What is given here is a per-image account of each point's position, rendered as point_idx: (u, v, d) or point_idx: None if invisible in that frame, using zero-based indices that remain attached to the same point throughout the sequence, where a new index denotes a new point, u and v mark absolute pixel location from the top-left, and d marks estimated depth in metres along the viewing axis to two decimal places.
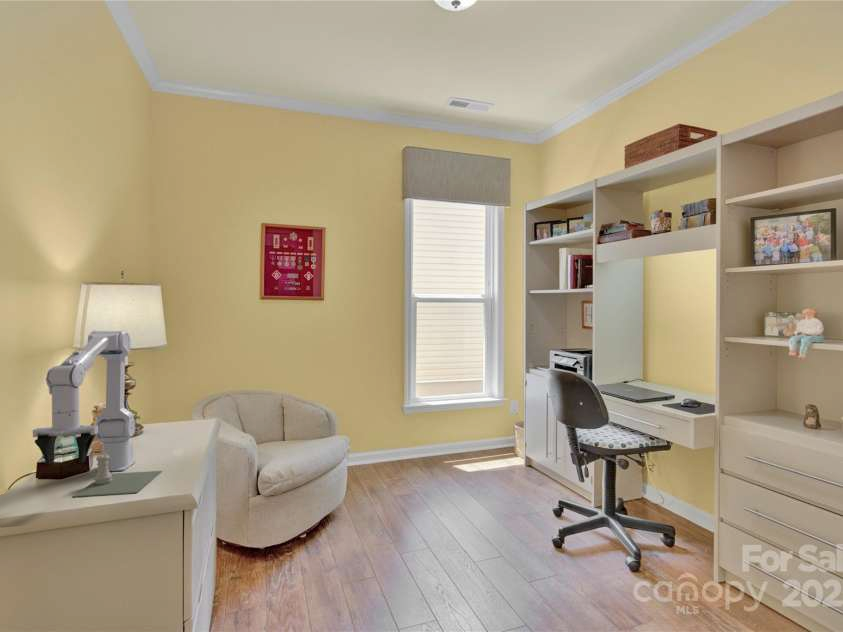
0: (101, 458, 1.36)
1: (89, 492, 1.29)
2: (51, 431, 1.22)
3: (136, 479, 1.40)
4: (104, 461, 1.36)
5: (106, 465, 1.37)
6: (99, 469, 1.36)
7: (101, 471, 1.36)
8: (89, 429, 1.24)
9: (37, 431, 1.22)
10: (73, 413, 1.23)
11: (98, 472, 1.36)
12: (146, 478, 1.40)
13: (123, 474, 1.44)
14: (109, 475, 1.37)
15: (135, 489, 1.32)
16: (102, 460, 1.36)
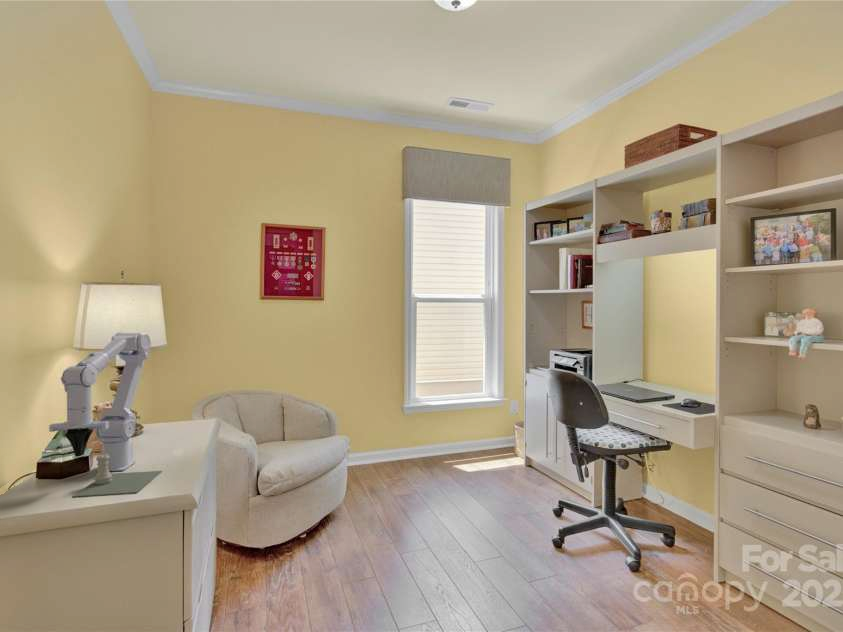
0: (101, 458, 1.36)
1: (89, 492, 1.29)
2: (66, 426, 1.33)
3: (136, 479, 1.40)
4: (104, 461, 1.36)
5: (106, 465, 1.37)
6: (99, 469, 1.36)
7: (101, 471, 1.36)
8: (100, 424, 1.36)
9: (53, 426, 1.34)
10: (86, 410, 1.35)
11: (98, 472, 1.36)
12: (146, 478, 1.40)
13: (123, 474, 1.44)
14: (109, 475, 1.37)
15: (135, 489, 1.32)
16: (102, 460, 1.36)
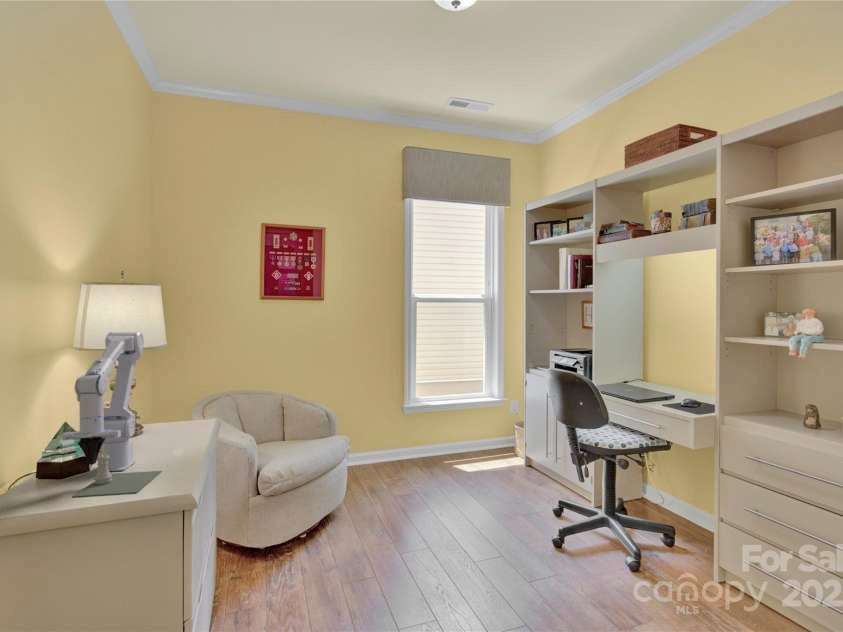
0: (101, 458, 1.36)
1: (89, 492, 1.29)
2: (79, 435, 1.34)
3: (136, 479, 1.40)
4: (104, 461, 1.36)
5: (106, 465, 1.37)
6: (99, 469, 1.36)
7: (101, 471, 1.36)
8: (113, 433, 1.37)
9: (66, 435, 1.35)
10: (98, 418, 1.36)
11: (98, 472, 1.36)
12: (146, 478, 1.40)
13: (123, 474, 1.44)
14: (109, 475, 1.37)
15: (135, 489, 1.32)
16: (102, 460, 1.36)
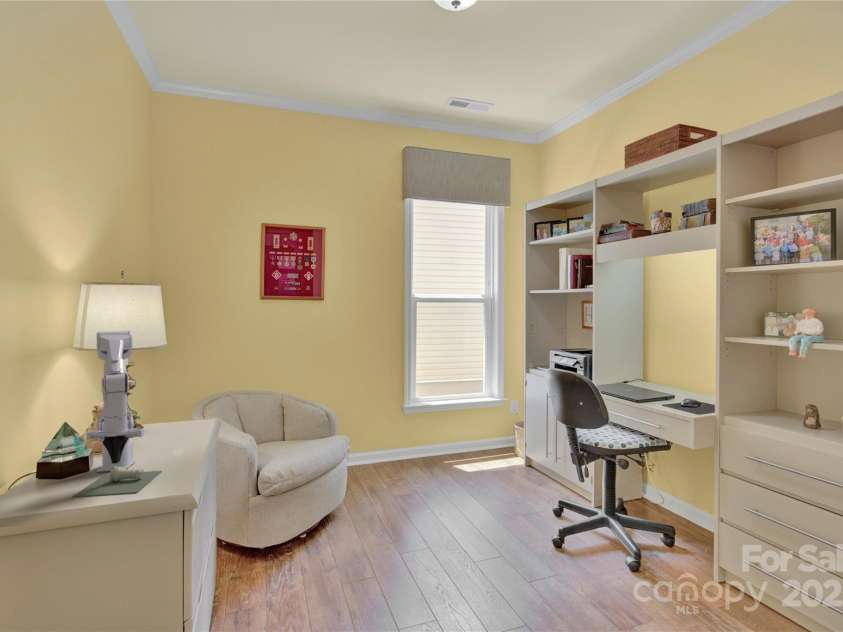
0: (138, 476, 1.38)
1: (89, 492, 1.29)
2: (103, 434, 1.35)
3: (136, 479, 1.40)
4: (134, 477, 1.38)
5: None
6: (126, 473, 1.38)
7: (123, 476, 1.37)
8: (136, 432, 1.38)
9: (90, 434, 1.36)
10: (122, 417, 1.37)
11: (123, 472, 1.37)
12: (146, 478, 1.40)
13: None
14: (118, 480, 1.38)
15: (135, 489, 1.32)
16: (136, 477, 1.38)
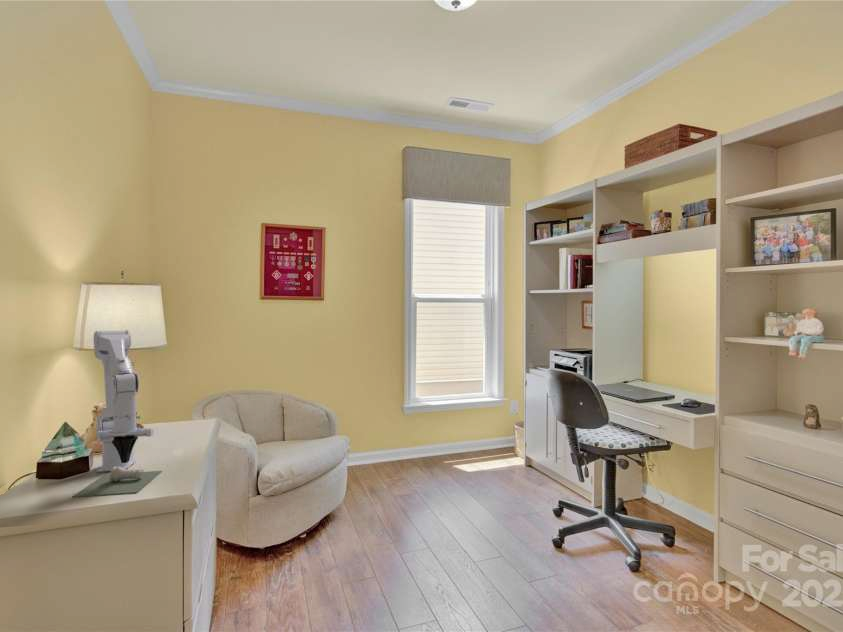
0: (138, 476, 1.38)
1: (89, 492, 1.29)
2: (113, 433, 1.35)
3: (136, 479, 1.40)
4: (134, 477, 1.38)
5: None
6: (126, 473, 1.38)
7: (123, 476, 1.37)
8: (146, 431, 1.38)
9: (100, 433, 1.36)
10: (132, 417, 1.37)
11: (123, 472, 1.37)
12: (146, 478, 1.40)
13: None
14: (118, 480, 1.38)
15: (135, 489, 1.32)
16: (136, 477, 1.38)
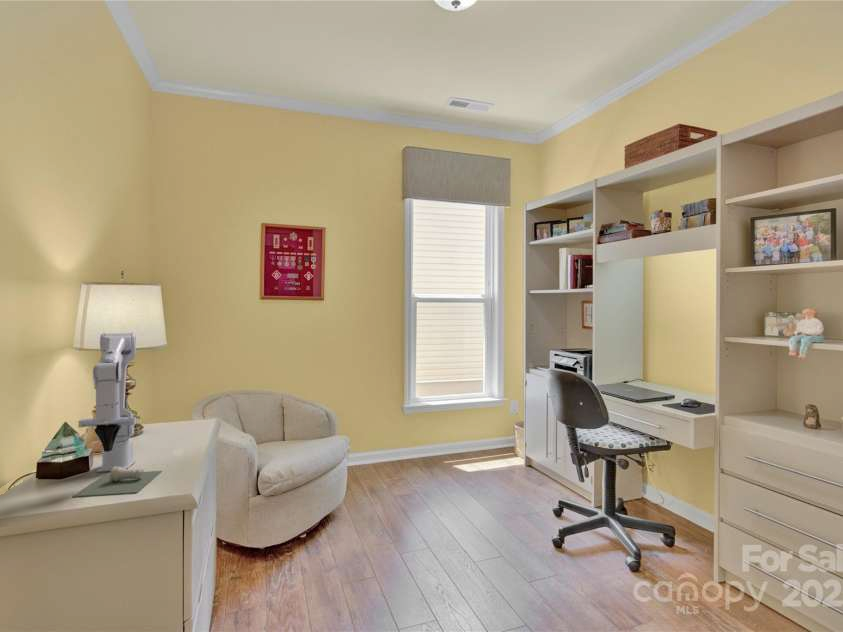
0: (138, 476, 1.38)
1: (89, 492, 1.29)
2: (95, 422, 1.35)
3: (136, 479, 1.40)
4: (134, 477, 1.38)
5: None
6: (126, 473, 1.38)
7: (123, 476, 1.37)
8: (129, 420, 1.38)
9: (82, 422, 1.35)
10: (115, 406, 1.37)
11: (123, 472, 1.37)
12: (146, 478, 1.40)
13: None
14: (118, 480, 1.38)
15: (135, 489, 1.32)
16: (136, 477, 1.38)
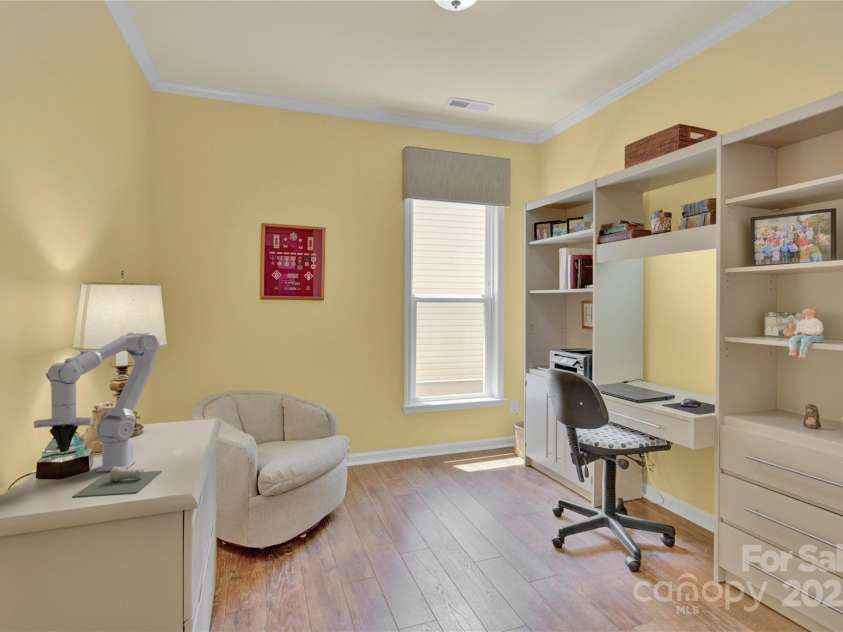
0: (138, 476, 1.38)
1: (89, 492, 1.29)
2: (51, 422, 1.34)
3: (136, 479, 1.40)
4: (134, 477, 1.38)
5: None
6: (126, 473, 1.38)
7: (123, 476, 1.37)
8: (85, 421, 1.37)
9: (38, 422, 1.35)
10: (70, 406, 1.36)
11: (123, 472, 1.37)
12: (146, 478, 1.40)
13: None
14: (118, 480, 1.38)
15: (135, 489, 1.32)
16: (136, 477, 1.38)
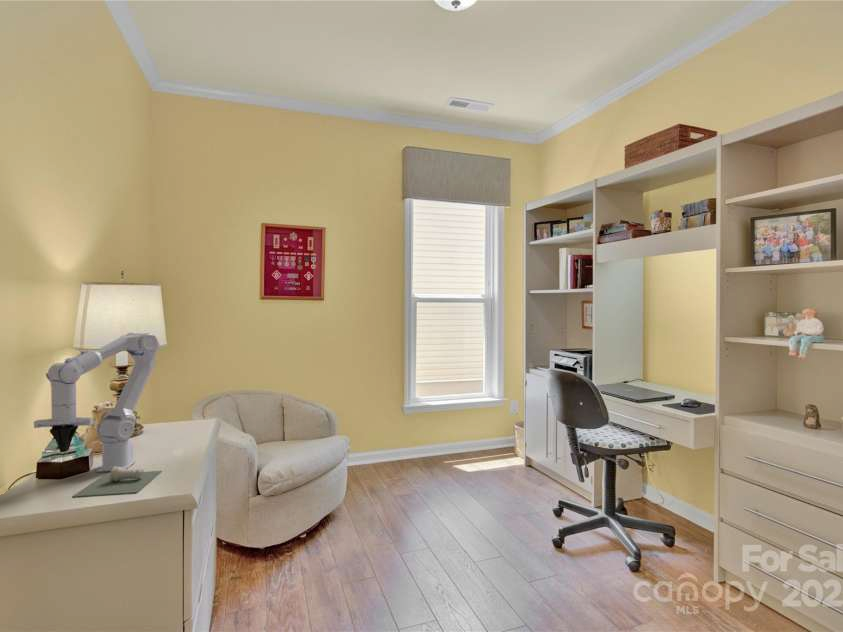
0: (138, 476, 1.38)
1: (89, 492, 1.29)
2: (51, 422, 1.34)
3: (136, 479, 1.40)
4: (134, 477, 1.38)
5: None
6: (126, 473, 1.38)
7: (123, 476, 1.37)
8: (85, 421, 1.37)
9: (38, 422, 1.35)
10: (70, 406, 1.36)
11: (123, 472, 1.37)
12: (146, 478, 1.40)
13: None
14: (118, 480, 1.38)
15: (135, 489, 1.32)
16: (136, 477, 1.38)
